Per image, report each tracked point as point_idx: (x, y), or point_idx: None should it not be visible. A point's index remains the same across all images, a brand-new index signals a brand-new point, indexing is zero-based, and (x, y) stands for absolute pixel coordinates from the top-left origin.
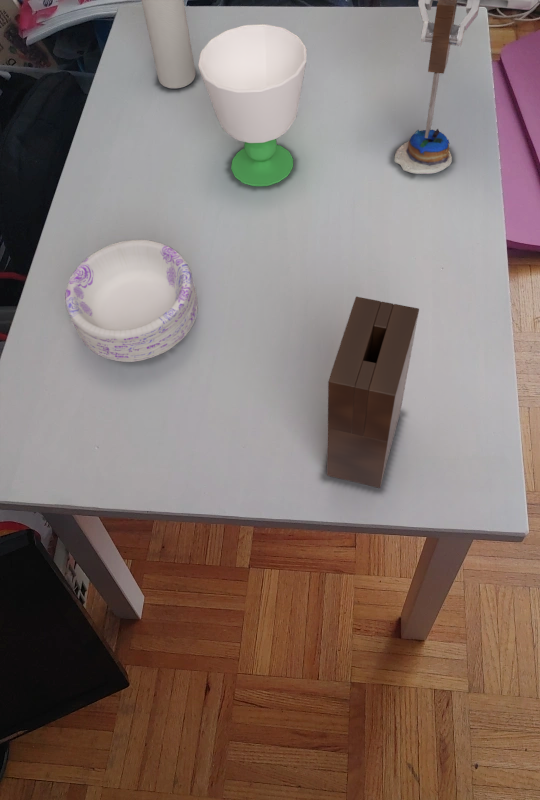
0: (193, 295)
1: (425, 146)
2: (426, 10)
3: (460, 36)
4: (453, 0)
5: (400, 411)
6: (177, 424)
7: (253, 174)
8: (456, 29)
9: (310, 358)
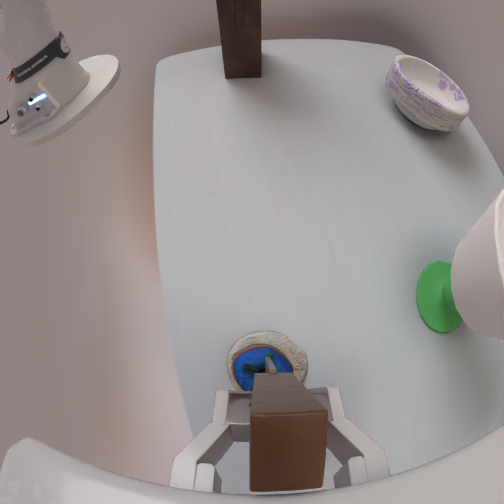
0: (398, 83)
1: (265, 353)
2: (351, 442)
3: (220, 397)
4: (261, 447)
5: (225, 76)
6: (355, 63)
7: (445, 276)
8: (236, 412)
9: (301, 96)
